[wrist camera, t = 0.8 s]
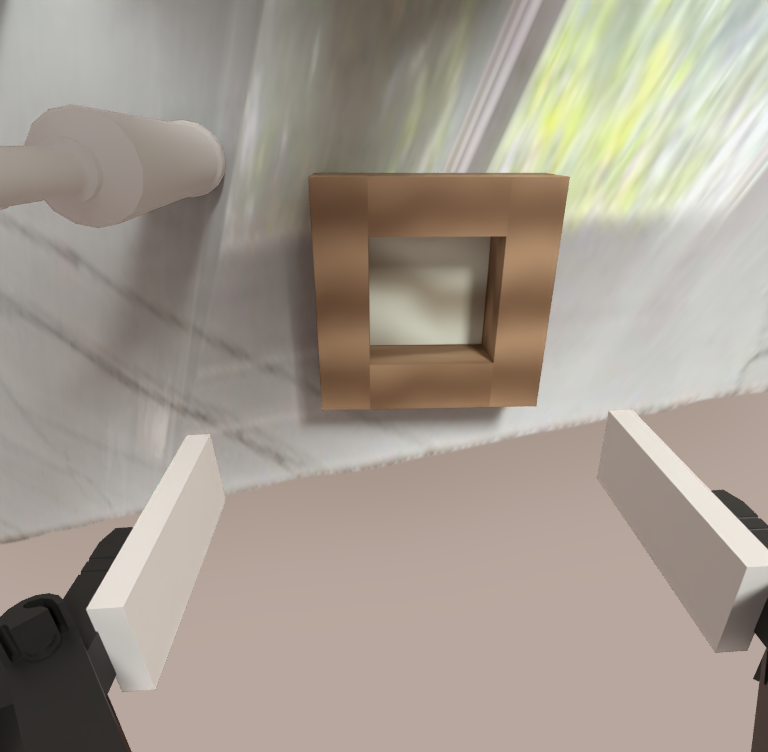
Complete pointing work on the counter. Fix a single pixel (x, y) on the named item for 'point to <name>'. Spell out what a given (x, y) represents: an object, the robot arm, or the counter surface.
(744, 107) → the counter surface
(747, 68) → the counter surface
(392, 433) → the counter surface
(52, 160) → the bottle
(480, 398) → the frame
